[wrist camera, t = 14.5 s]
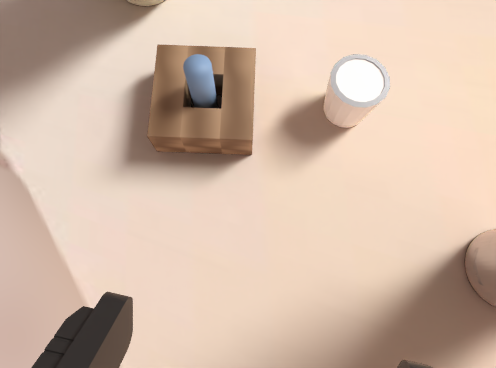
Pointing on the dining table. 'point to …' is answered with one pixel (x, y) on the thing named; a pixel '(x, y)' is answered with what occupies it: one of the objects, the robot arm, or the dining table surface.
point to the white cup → (355, 89)
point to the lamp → (145, 2)
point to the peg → (200, 81)
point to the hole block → (203, 119)
